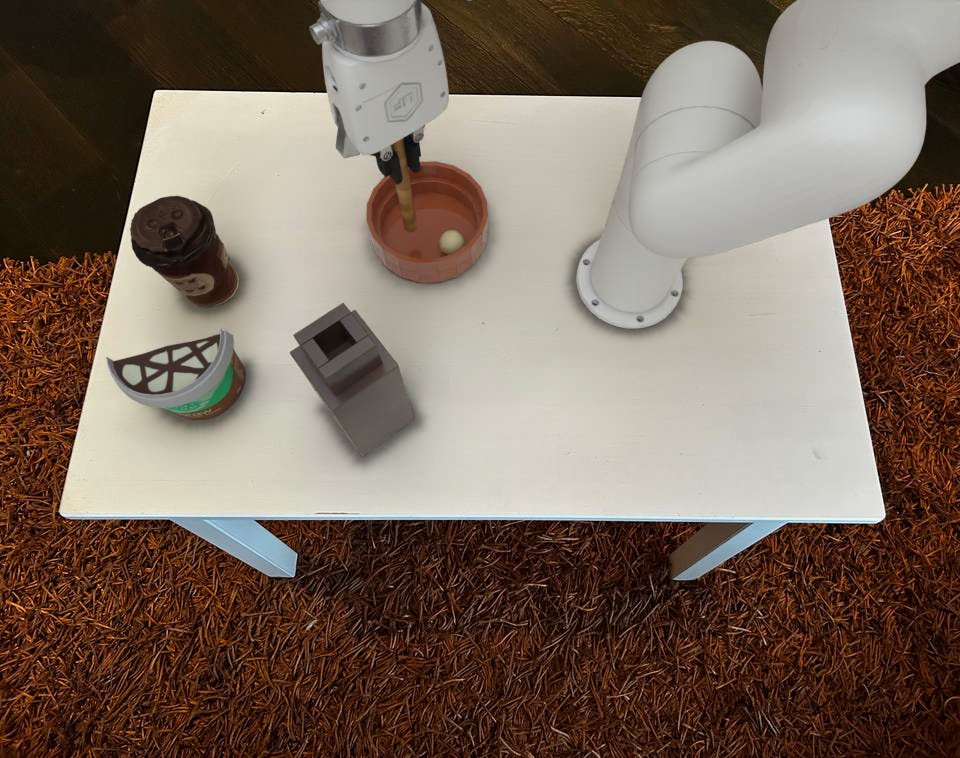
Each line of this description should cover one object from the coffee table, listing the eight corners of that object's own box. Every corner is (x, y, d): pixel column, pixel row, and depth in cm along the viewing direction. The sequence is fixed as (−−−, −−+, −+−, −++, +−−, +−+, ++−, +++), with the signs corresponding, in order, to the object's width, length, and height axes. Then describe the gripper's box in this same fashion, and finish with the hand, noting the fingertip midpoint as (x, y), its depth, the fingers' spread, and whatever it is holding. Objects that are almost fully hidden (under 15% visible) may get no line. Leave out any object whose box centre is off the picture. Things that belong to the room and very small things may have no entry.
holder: (379, 373, 74) (346, 287, 55) (415, 420, 72) (393, 347, 53) (327, 409, 72) (275, 332, 54) (362, 457, 71) (321, 396, 52)
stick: (411, 218, 77) (394, 120, 62) (420, 226, 77) (405, 130, 62) (401, 226, 77) (381, 129, 62) (410, 234, 76) (393, 139, 62)
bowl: (442, 169, 84) (440, 142, 80) (510, 243, 80) (512, 220, 76) (350, 225, 81) (342, 200, 76) (416, 306, 77) (413, 285, 72)
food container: (154, 443, 71) (105, 415, 62) (148, 392, 73) (100, 358, 64) (266, 413, 72) (235, 381, 63) (257, 364, 74) (226, 326, 65)
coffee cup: (233, 324, 76) (187, 266, 64) (166, 311, 77) (107, 252, 65) (257, 261, 79) (217, 194, 67) (192, 249, 80) (141, 181, 68)
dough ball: (450, 230, 80) (443, 254, 80) (439, 225, 77) (431, 249, 77) (471, 236, 78) (464, 260, 79) (460, 230, 76) (453, 255, 76)
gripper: (311, 88, 47) (357, 232, 64) (483, -6, 51) (483, 155, 68) (259, 27, 49) (317, 183, 67) (427, -59, 53) (441, 110, 70)
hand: (400, 168), depth 67 cm, fingers closed on stick, 1 cm apart
